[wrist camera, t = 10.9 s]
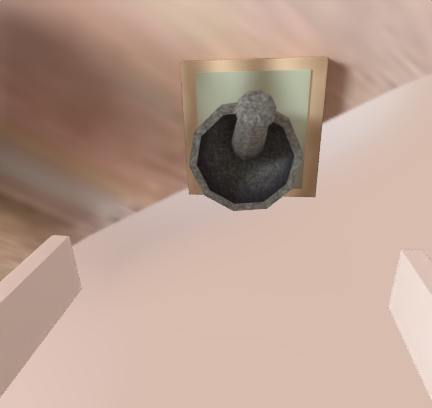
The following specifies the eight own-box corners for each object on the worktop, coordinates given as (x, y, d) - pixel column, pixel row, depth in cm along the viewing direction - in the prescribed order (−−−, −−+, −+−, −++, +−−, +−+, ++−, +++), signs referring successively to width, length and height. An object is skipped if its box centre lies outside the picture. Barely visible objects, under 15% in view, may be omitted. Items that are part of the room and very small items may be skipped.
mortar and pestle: (280, 192, 38) (286, 252, 27) (197, 174, 38) (169, 226, 27) (310, 86, 33) (332, 106, 22) (214, 67, 33) (189, 78, 23)
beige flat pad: (193, 186, 42) (188, 195, 39) (185, 60, 36) (179, 62, 34) (312, 188, 40) (315, 197, 38) (324, 56, 34) (328, 57, 32)
